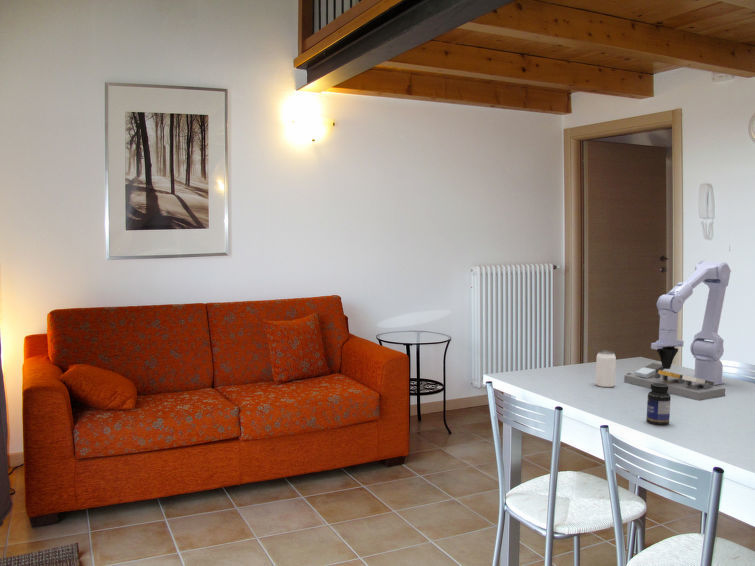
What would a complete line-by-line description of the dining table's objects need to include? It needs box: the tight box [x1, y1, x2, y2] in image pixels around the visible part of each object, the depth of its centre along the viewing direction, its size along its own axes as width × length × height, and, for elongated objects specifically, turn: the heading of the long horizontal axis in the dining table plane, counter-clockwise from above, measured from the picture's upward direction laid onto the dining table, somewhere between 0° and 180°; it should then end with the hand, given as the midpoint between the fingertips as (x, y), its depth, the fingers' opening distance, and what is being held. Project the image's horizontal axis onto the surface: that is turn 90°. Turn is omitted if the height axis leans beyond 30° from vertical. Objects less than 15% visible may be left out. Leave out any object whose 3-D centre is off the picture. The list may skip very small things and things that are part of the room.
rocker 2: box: [658, 370, 684, 378], centre depth 240 cm, size 10×5×1 cm, turn 121°
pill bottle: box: [646, 383, 671, 426], centre depth 197 cm, size 6×6×11 cm
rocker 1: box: [634, 362, 665, 378], centre depth 248 cm, size 10×5×1 cm, turn 119°
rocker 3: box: [682, 374, 715, 386], centre depth 232 cm, size 10×5×1 cm, turn 121°
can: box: [595, 350, 617, 389], centre depth 243 cm, size 6×6×12 cm
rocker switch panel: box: [623, 372, 726, 401], centre depth 242 cm, size 14×35×4 cm, turn 30°
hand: (666, 368), depth 238 cm, fingers closed
